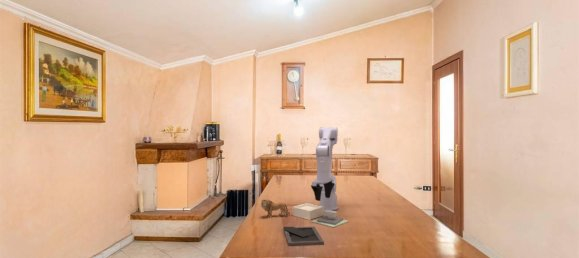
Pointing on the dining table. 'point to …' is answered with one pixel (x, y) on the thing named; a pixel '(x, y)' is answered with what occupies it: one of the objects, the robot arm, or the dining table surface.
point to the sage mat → (331, 224)
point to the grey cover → (330, 217)
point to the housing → (307, 211)
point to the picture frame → (302, 236)
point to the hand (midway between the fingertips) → (322, 199)
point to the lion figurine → (273, 207)
